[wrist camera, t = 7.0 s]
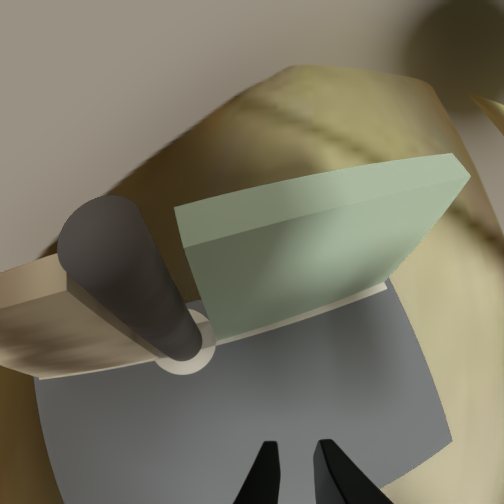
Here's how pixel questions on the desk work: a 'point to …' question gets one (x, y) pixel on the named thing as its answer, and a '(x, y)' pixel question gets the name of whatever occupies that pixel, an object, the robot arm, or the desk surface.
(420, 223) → the panel
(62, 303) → the fixed fence panel
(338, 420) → the card
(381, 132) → the desk surface
